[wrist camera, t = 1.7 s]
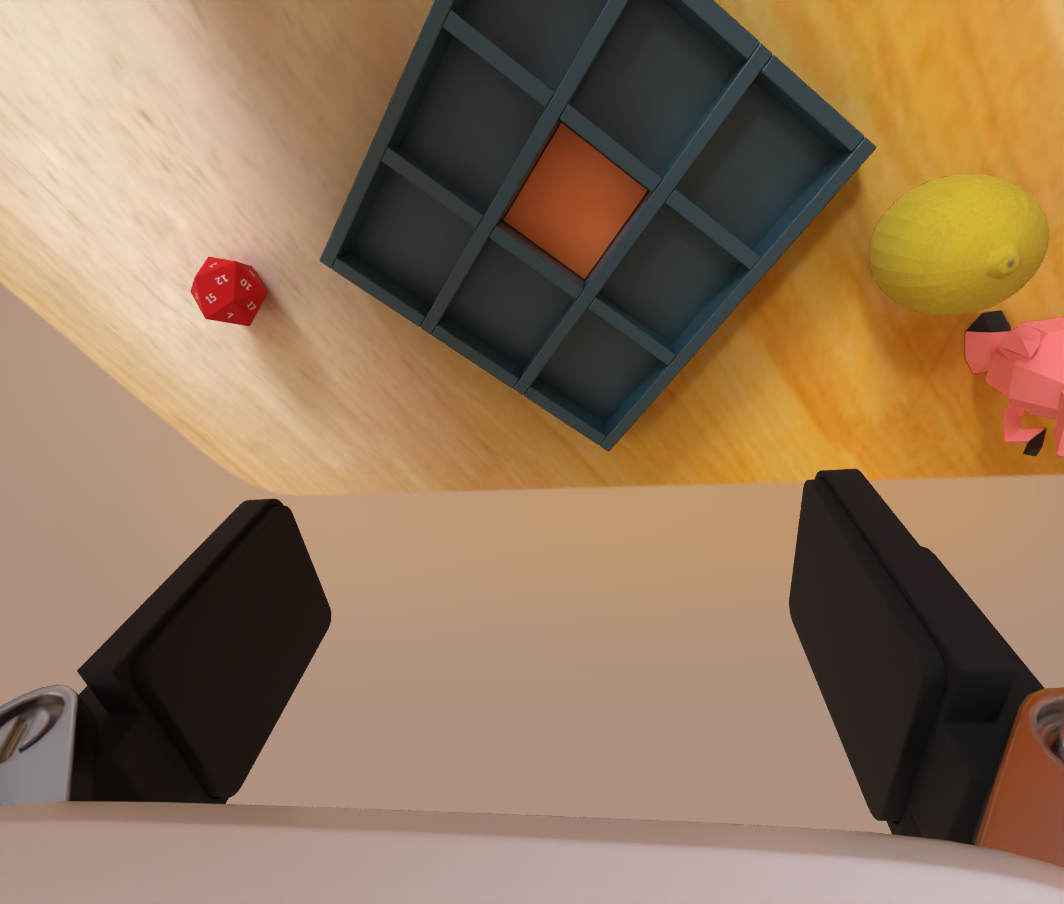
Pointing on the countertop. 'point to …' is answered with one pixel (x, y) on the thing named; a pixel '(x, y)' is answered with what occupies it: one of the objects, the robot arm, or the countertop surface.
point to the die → (228, 291)
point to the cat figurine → (1022, 372)
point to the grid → (586, 191)
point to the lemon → (958, 244)
